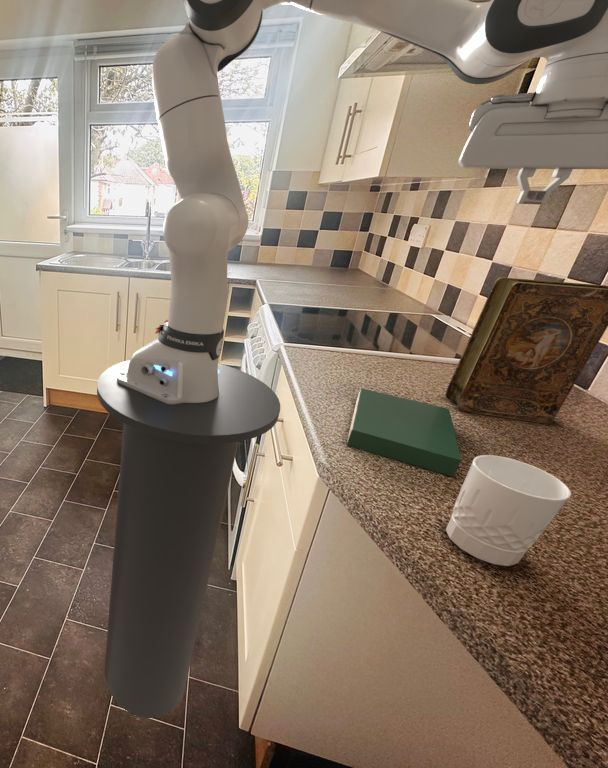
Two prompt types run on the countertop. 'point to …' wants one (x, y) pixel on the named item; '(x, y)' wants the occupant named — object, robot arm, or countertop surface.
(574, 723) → the countertop surface
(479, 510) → the white cup
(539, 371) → the book
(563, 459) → the countertop surface
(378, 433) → the hardback
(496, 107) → the robot arm
